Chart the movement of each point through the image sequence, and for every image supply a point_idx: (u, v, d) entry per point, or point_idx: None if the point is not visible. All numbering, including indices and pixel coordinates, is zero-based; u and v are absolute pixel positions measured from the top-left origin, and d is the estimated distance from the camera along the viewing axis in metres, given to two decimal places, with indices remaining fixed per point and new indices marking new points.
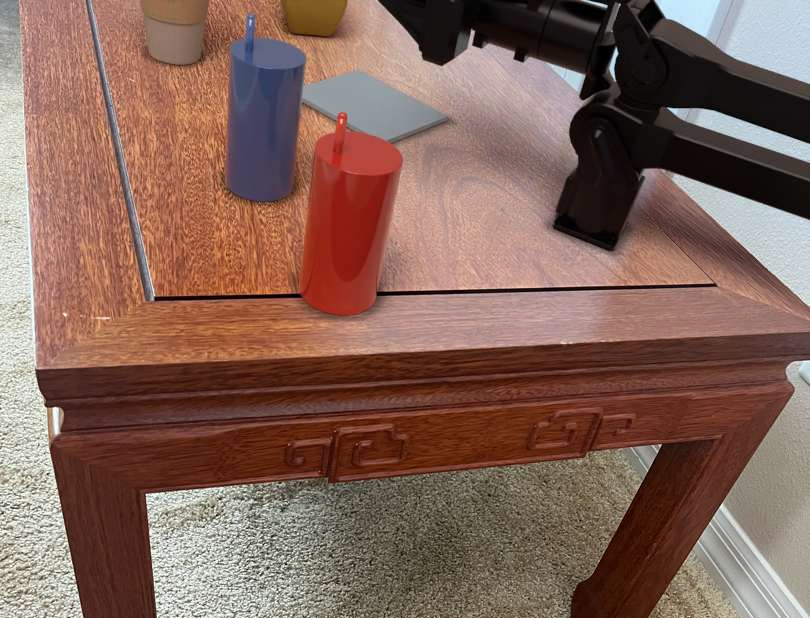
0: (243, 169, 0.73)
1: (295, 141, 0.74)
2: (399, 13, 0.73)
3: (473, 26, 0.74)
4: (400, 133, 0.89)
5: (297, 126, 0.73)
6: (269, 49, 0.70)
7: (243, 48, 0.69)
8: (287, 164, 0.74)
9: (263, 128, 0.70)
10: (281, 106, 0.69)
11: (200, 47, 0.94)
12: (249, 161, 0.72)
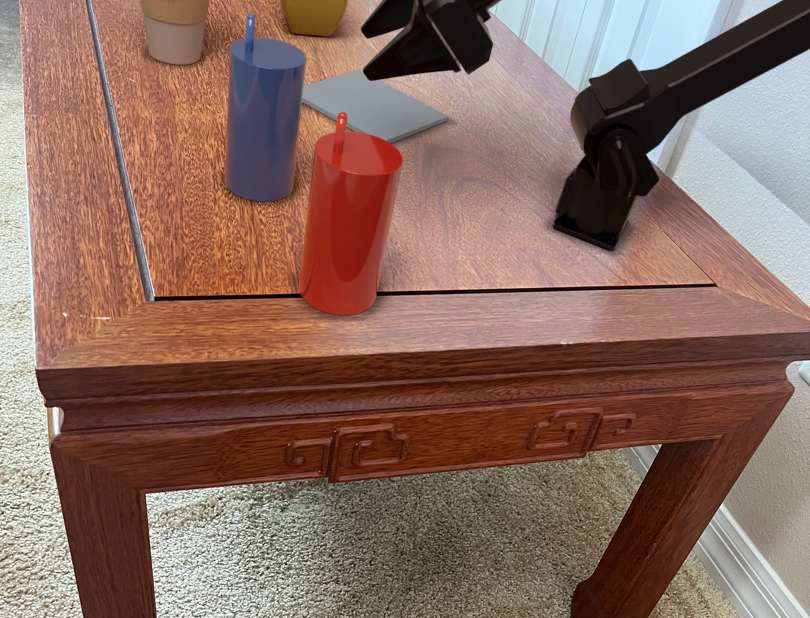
0: (243, 169, 0.73)
1: (295, 141, 0.74)
2: (407, 68, 0.65)
3: None
4: (400, 133, 0.89)
5: (297, 126, 0.73)
6: (269, 49, 0.70)
7: (243, 48, 0.69)
8: (287, 164, 0.74)
9: (263, 128, 0.70)
10: (281, 106, 0.69)
11: (200, 47, 0.94)
12: (249, 161, 0.72)
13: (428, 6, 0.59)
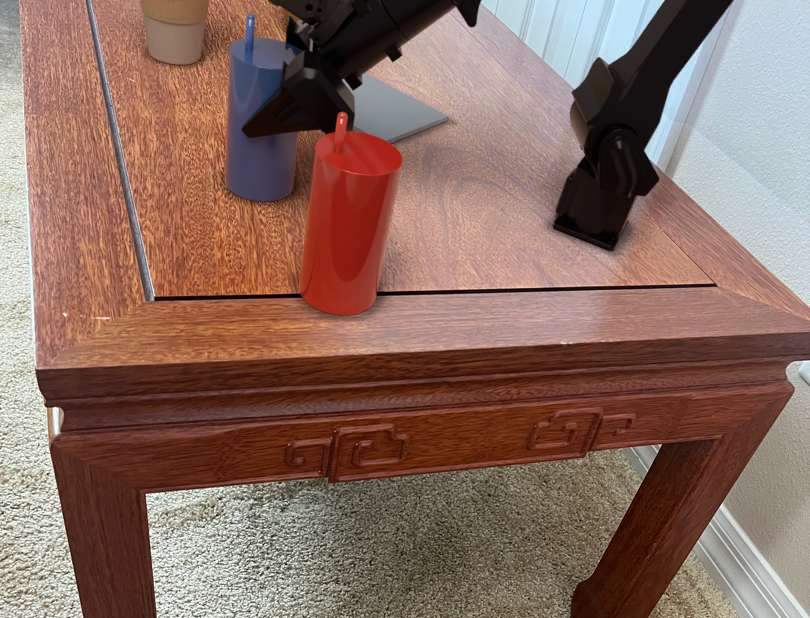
0: (243, 169, 0.73)
1: (295, 141, 0.74)
2: (281, 127, 0.69)
3: (339, 76, 0.68)
4: (400, 133, 0.89)
5: None
6: (268, 49, 0.70)
7: (243, 48, 0.69)
8: (287, 164, 0.74)
9: None
10: None
11: (200, 47, 0.94)
12: (249, 161, 0.72)
13: (288, 81, 0.62)
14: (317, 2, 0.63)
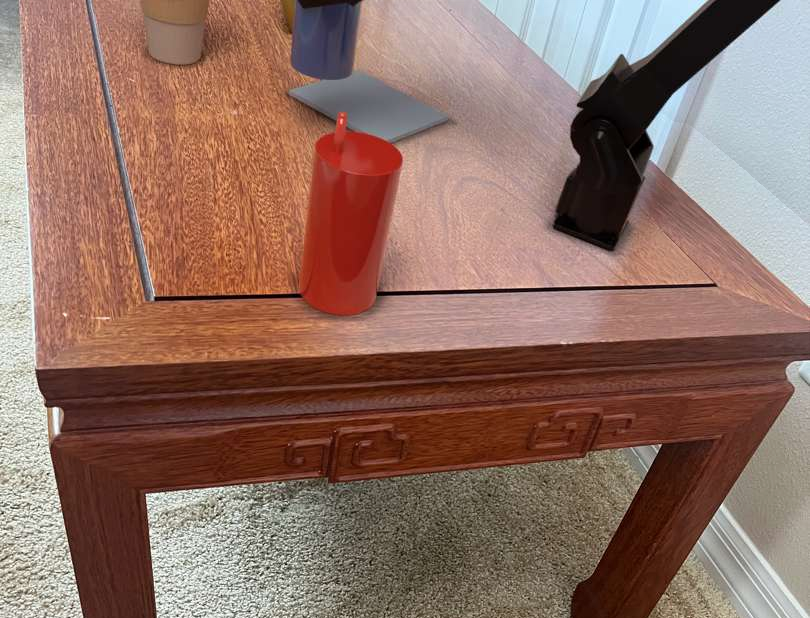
0: (299, 42, 0.80)
1: (350, 24, 0.78)
2: None
3: None
4: (400, 133, 0.89)
5: (352, 8, 0.78)
6: None
7: None
8: (339, 45, 0.79)
9: None
10: None
11: (200, 47, 0.94)
12: (303, 33, 0.79)
13: None
14: None
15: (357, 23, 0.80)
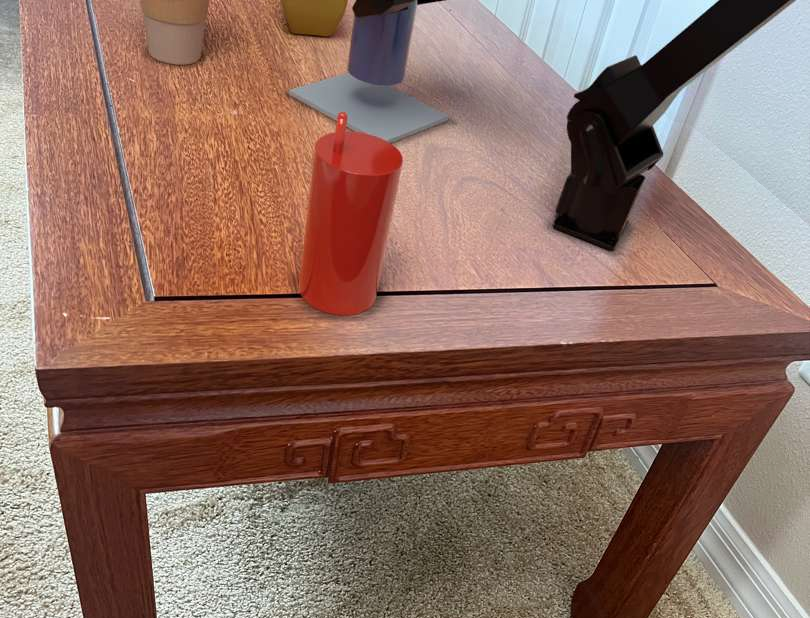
0: (353, 47, 0.88)
1: (397, 36, 0.86)
2: (372, 9, 0.82)
3: None
4: (400, 133, 0.89)
5: (400, 21, 0.85)
6: None
7: None
8: (386, 54, 0.87)
9: None
10: None
11: (200, 47, 0.94)
12: (356, 40, 0.87)
13: None
14: None
15: (406, 36, 0.87)
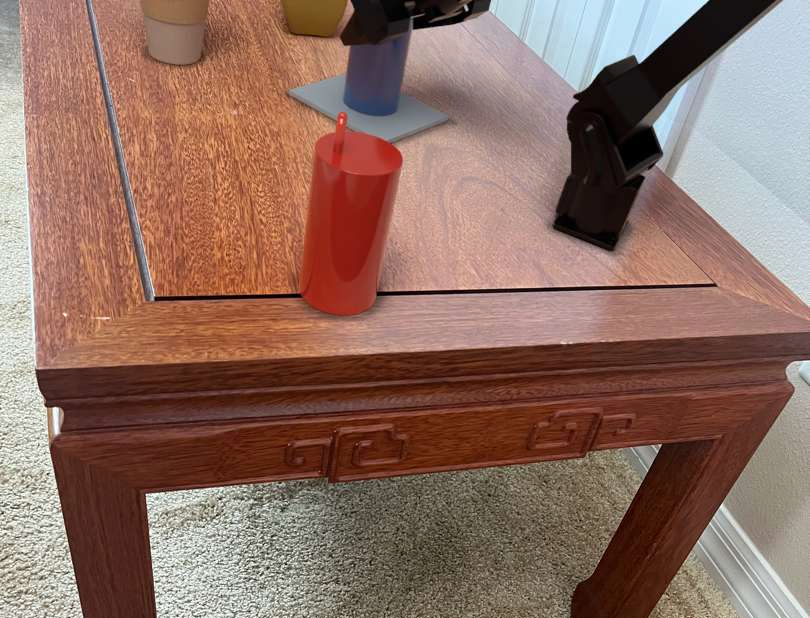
0: (348, 79, 0.90)
1: (391, 69, 0.88)
2: (359, 38, 0.83)
3: (418, 6, 0.81)
4: (400, 133, 0.89)
5: (394, 55, 0.87)
6: None
7: None
8: (380, 86, 0.89)
9: (362, 45, 0.87)
10: None
11: (200, 47, 0.94)
12: (351, 72, 0.89)
13: None
14: None
15: (400, 69, 0.89)
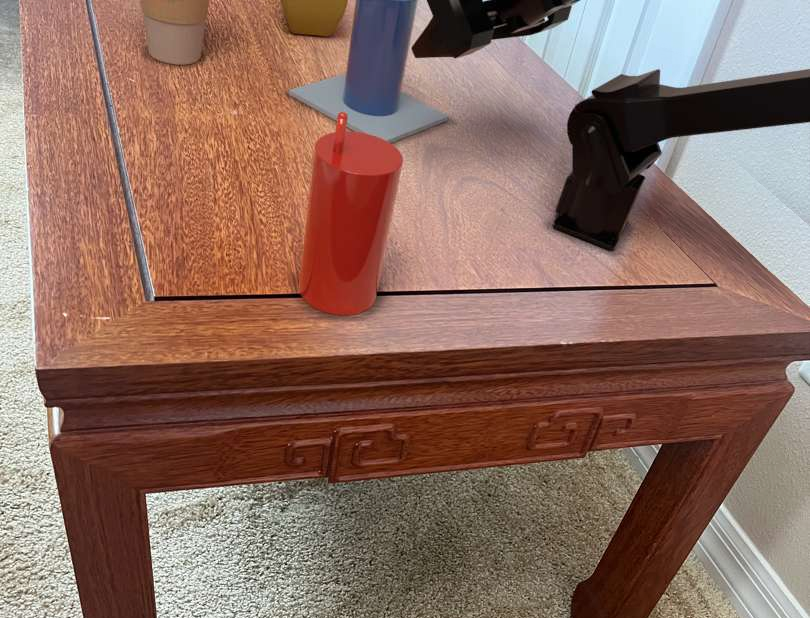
0: (348, 79, 0.90)
1: (391, 69, 0.88)
2: (434, 50, 0.78)
3: (500, 16, 0.75)
4: (400, 133, 0.89)
5: (394, 55, 0.87)
6: None
7: None
8: (380, 86, 0.89)
9: (362, 45, 0.87)
10: (377, 30, 0.85)
11: (200, 47, 0.94)
12: (351, 72, 0.89)
13: None
14: None
15: (400, 69, 0.89)
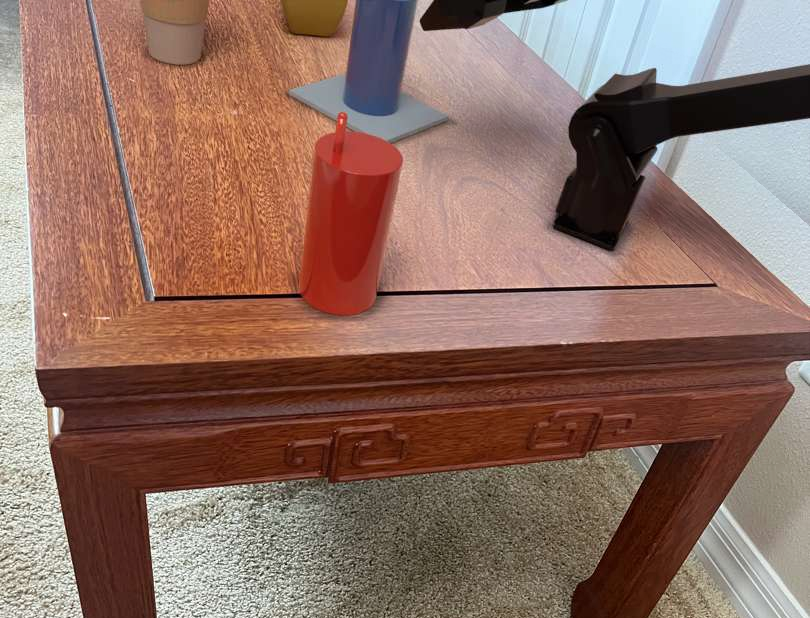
0: (348, 79, 0.90)
1: (391, 69, 0.88)
2: (444, 22, 0.75)
3: None
4: (400, 133, 0.89)
5: (394, 55, 0.87)
6: None
7: None
8: (380, 86, 0.89)
9: (362, 45, 0.87)
10: (377, 30, 0.85)
11: (200, 47, 0.94)
12: (351, 72, 0.89)
13: None
14: None
15: (400, 69, 0.89)
